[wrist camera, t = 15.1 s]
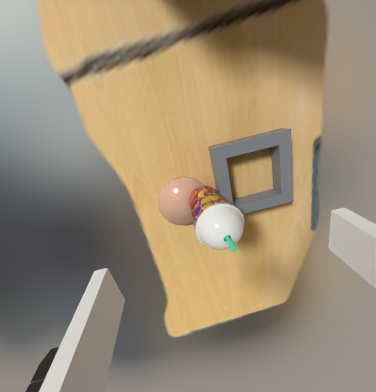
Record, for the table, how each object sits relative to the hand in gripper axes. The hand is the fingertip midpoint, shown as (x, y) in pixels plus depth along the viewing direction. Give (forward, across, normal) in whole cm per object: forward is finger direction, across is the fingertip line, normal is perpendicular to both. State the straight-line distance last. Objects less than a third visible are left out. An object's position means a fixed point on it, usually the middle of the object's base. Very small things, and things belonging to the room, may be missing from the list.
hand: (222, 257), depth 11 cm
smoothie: (+32, +2, -11) cm, 34 cm away
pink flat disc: (+32, -3, -11) cm, 34 cm away
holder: (+33, +13, -8) cm, 36 cm away
